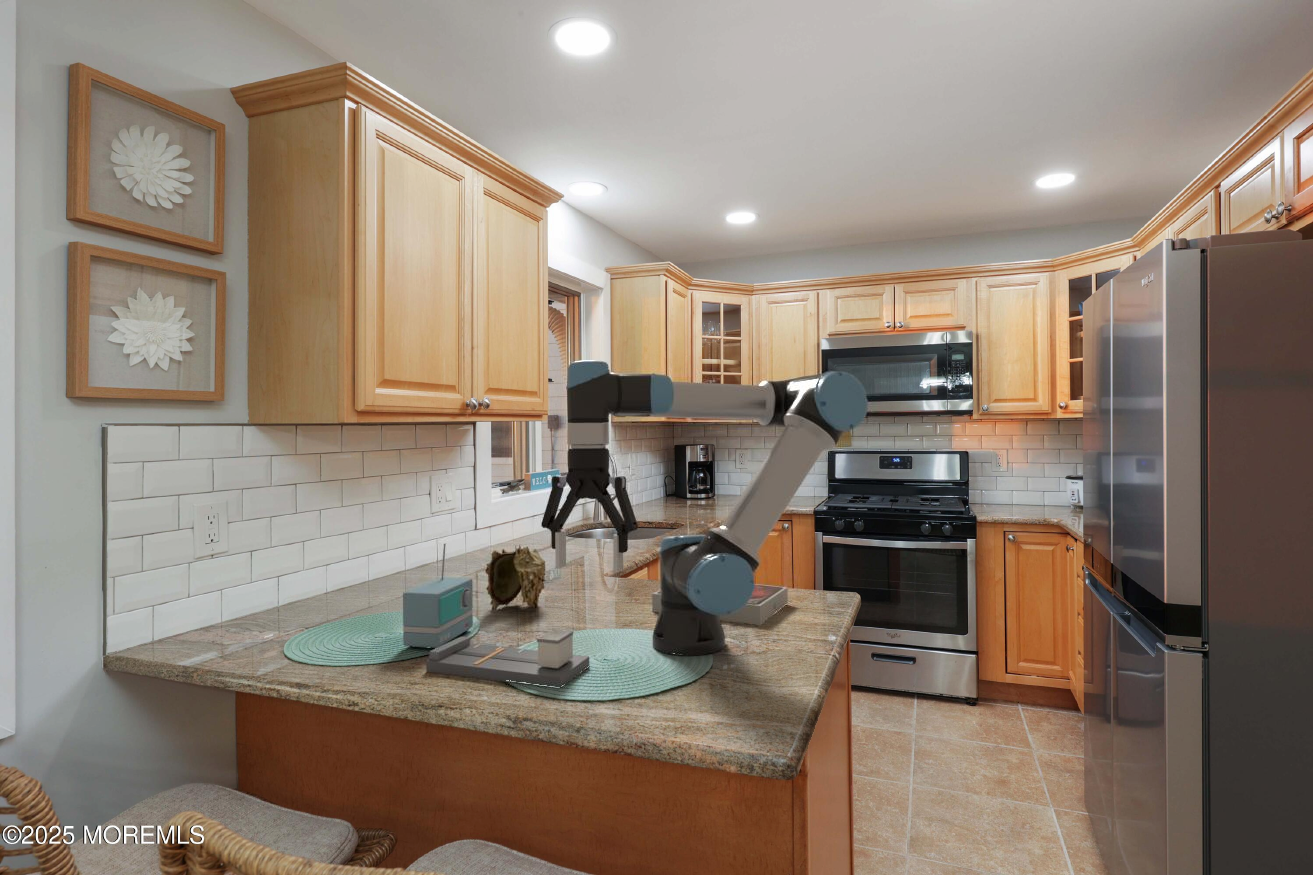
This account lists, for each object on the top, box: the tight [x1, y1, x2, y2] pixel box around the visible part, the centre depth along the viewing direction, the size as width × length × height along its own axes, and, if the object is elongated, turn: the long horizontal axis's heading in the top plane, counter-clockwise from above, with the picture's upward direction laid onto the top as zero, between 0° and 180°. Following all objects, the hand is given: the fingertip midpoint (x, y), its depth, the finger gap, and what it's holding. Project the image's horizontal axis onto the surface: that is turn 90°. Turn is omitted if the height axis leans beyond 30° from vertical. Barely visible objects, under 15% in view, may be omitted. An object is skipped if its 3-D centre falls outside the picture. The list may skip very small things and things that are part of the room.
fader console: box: [425, 636, 590, 687], centre depth 130 cm, size 28×12×4 cm, turn 71°
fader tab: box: [536, 629, 574, 668], centre depth 127 cm, size 4×6×5 cm
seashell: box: [484, 544, 547, 612], centre depth 175 cm, size 18×18×15 cm
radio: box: [402, 542, 474, 648], centre depth 149 cm, size 16×9×20 cm, turn 168°
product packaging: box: [651, 583, 789, 626], centre depth 175 cm, size 22×28×5 cm
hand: (589, 568), depth 124 cm, fingers open, 11 cm apart
